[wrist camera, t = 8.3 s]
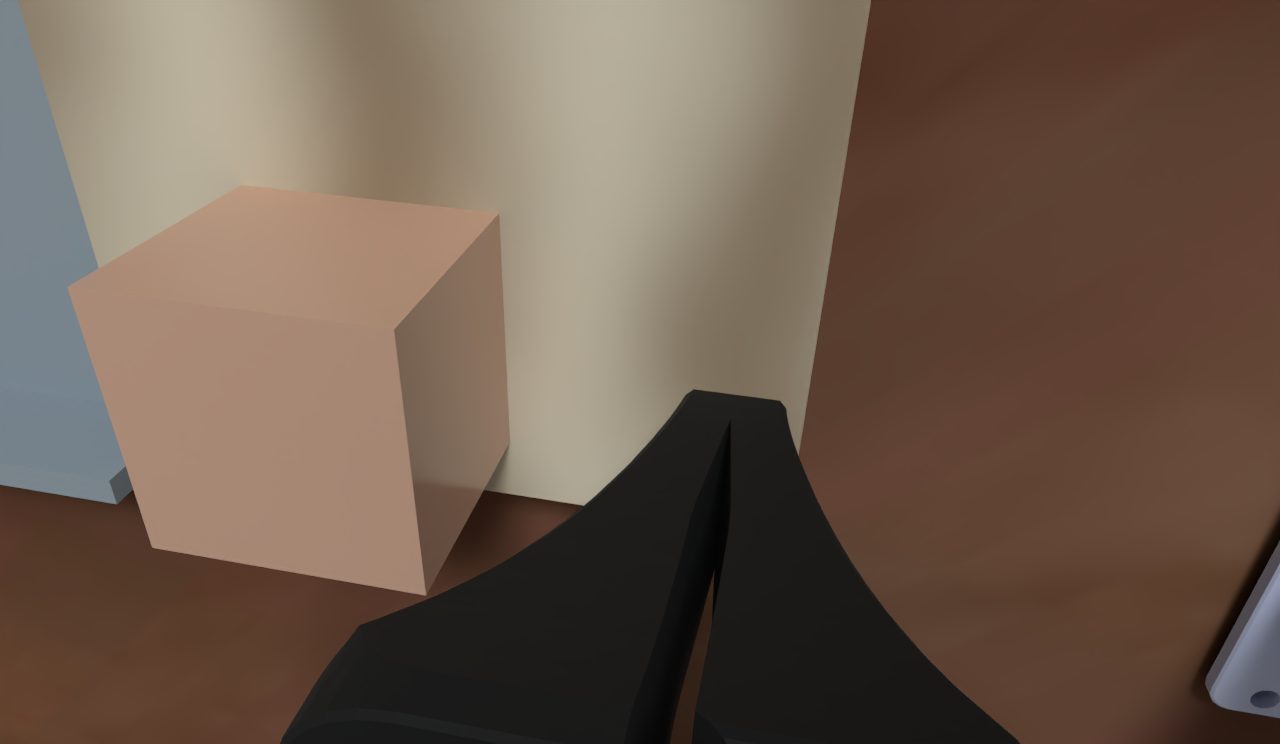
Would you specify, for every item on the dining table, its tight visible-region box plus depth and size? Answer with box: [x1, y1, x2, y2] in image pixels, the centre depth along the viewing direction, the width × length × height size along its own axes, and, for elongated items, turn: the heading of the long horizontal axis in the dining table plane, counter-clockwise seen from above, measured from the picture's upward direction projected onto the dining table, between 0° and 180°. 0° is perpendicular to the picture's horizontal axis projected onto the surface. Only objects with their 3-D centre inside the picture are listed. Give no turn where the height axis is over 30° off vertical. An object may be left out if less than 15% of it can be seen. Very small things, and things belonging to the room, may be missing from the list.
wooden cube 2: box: [67, 185, 510, 595], centre depth 14 cm, size 4×4×4 cm
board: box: [18, 0, 871, 505], centre depth 15 cm, size 13×14×2 cm
